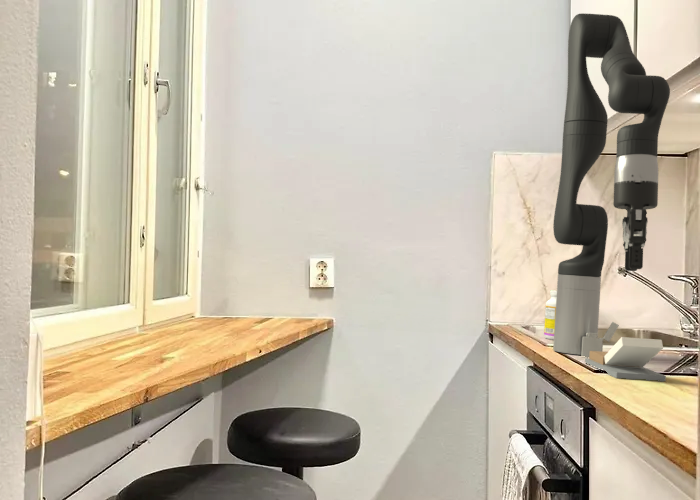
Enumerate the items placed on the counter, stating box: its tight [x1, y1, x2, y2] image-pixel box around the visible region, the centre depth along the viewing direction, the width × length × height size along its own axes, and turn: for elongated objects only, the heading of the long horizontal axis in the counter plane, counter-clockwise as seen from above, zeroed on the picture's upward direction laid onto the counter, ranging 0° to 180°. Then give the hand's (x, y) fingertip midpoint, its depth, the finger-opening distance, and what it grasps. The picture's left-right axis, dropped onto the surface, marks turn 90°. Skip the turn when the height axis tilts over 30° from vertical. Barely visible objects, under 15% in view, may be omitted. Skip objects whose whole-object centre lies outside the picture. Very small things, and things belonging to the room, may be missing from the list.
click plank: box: [604, 336, 664, 368], centre depth 124 cm, size 9×7×2 cm
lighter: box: [580, 321, 620, 358], centre depth 147 cm, size 7×2×8 cm, turn 74°
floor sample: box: [584, 351, 667, 382], centre depth 128 cm, size 17×8×3 cm, turn 179°
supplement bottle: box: [543, 289, 557, 341], centre depth 182 cm, size 7×7×13 cm
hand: (633, 269), depth 126 cm, fingers open, 8 cm apart
